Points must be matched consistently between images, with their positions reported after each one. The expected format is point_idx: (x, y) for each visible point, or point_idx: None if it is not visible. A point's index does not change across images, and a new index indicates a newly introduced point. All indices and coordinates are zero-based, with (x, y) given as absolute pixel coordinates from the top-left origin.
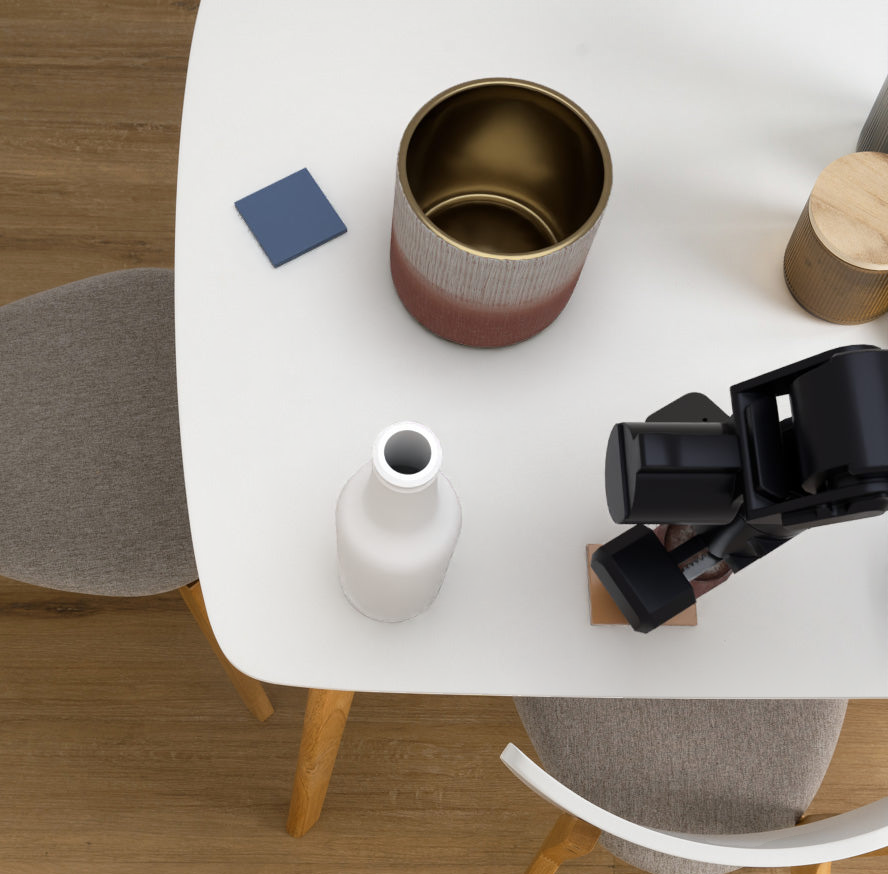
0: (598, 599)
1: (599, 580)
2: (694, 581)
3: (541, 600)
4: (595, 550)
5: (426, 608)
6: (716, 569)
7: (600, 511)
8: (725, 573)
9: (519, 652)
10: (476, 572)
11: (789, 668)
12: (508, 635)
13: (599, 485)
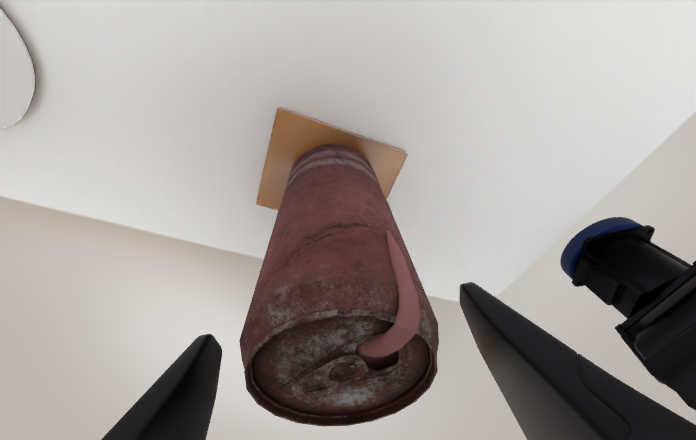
0: (270, 181)
1: (278, 160)
2: (297, 417)
3: (201, 157)
4: (285, 120)
5: (11, 125)
6: (357, 402)
7: (315, 60)
8: (370, 413)
9: (166, 205)
10: (106, 90)
11: (429, 281)
12: (153, 184)
13: (328, 13)
